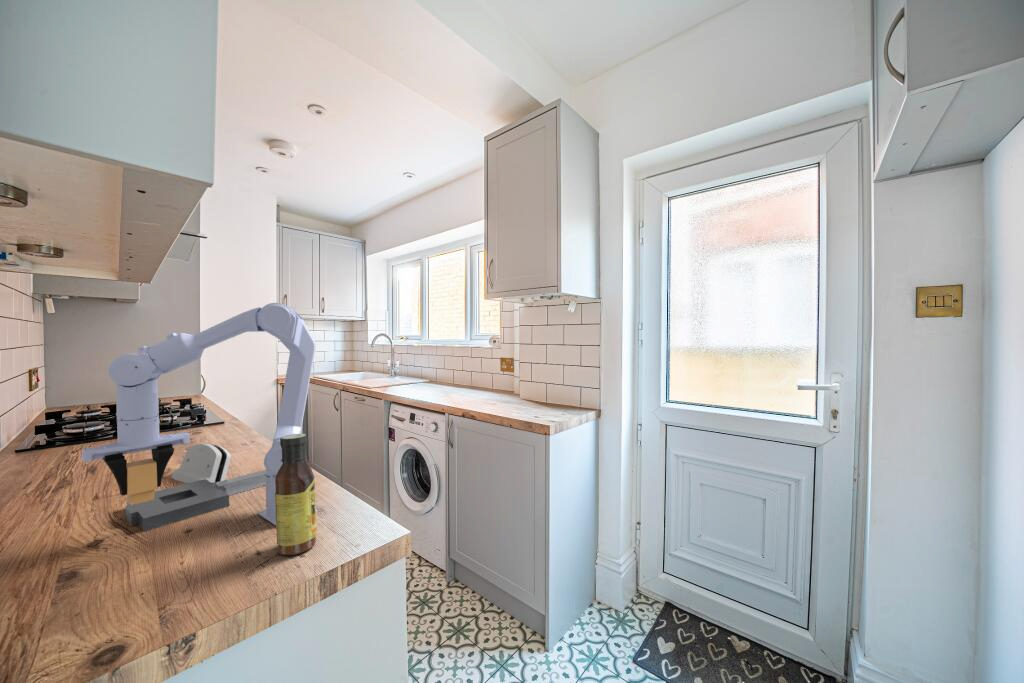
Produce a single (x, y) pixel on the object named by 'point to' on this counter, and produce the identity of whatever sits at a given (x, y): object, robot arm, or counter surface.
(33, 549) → the counter surface
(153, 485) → the wedge pin
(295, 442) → the sauce bottle
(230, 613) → the counter surface
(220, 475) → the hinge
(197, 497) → the grey mounting plate
